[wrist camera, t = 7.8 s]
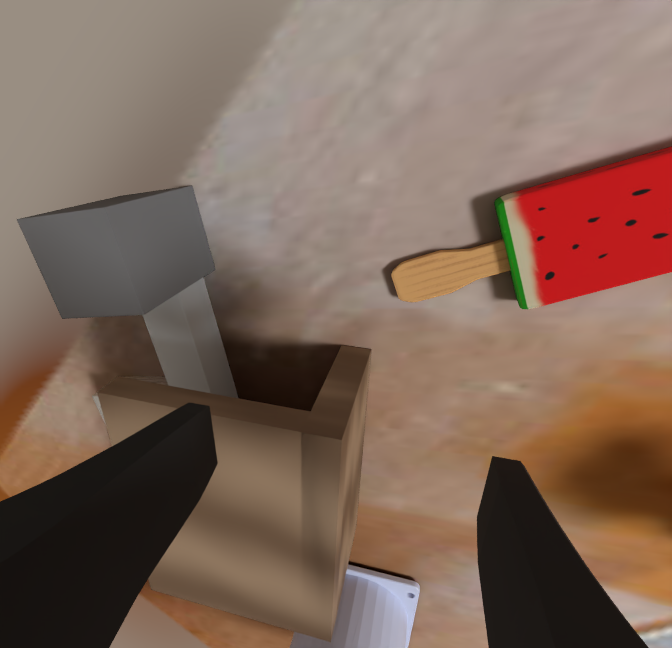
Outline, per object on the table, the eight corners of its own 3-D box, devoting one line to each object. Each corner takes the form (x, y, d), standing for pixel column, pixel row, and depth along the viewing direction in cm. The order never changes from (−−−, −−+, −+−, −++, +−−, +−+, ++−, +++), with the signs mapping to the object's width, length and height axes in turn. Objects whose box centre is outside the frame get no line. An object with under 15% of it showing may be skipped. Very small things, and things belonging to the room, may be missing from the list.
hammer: (272, 474, 26) (232, 555, 21) (216, 470, 27) (166, 546, 22) (192, 185, 19) (105, 207, 14) (120, 195, 20) (16, 219, 15)
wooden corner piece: (356, 527, 26) (330, 642, 20) (211, 493, 28) (151, 589, 22) (371, 349, 20) (341, 439, 14) (187, 322, 22) (96, 392, 16)
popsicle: (376, 241, 17) (879, 78, 12) (381, 233, 18) (836, 83, 13) (409, 337, 18) (867, 232, 13) (411, 323, 20) (829, 222, 14)
